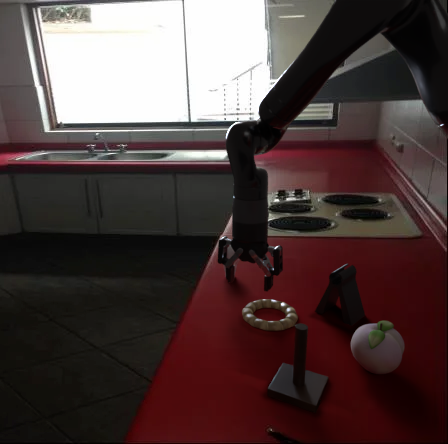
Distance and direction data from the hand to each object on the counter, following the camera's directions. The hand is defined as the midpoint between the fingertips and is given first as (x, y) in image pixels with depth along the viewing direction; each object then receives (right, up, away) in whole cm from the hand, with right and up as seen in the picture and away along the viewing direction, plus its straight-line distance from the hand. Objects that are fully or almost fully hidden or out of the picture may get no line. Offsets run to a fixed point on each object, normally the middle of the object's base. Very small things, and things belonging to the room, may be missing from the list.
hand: (248, 285), depth 93 cm
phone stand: (+20, -7, -1) cm, 21 cm away
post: (+4, -15, -22) cm, 26 cm away
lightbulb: (-1, -2, +19) cm, 20 cm away
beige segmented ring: (+5, -6, -1) cm, 8 cm away
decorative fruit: (+19, -13, -18) cm, 29 cm away
